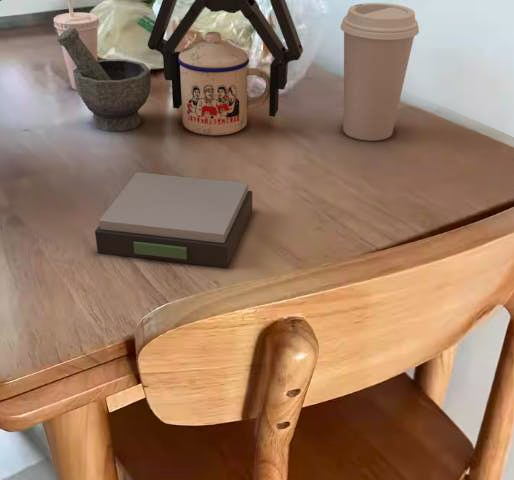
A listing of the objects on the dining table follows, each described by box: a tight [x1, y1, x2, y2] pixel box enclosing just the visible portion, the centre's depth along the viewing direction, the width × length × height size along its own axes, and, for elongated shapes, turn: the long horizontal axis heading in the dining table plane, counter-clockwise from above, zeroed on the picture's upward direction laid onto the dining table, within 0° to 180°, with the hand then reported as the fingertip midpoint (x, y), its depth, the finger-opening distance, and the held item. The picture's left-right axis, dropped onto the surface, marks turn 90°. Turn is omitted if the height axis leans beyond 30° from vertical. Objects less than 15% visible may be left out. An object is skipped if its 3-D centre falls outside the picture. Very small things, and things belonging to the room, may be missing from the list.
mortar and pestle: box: [57, 28, 152, 132], centre depth 95 cm, size 11×9×12 cm
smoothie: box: [53, 0, 101, 91], centre depth 105 cm, size 6×6×14 cm
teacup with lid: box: [178, 31, 270, 136], centre depth 95 cm, size 12×9×12 cm
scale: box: [94, 172, 253, 269], centre depth 74 cm, size 13×12×3 cm
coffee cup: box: [340, 2, 420, 142], centre depth 93 cm, size 10×10×15 cm
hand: (225, 109), depth 97 cm, fingers open, 12 cm apart
